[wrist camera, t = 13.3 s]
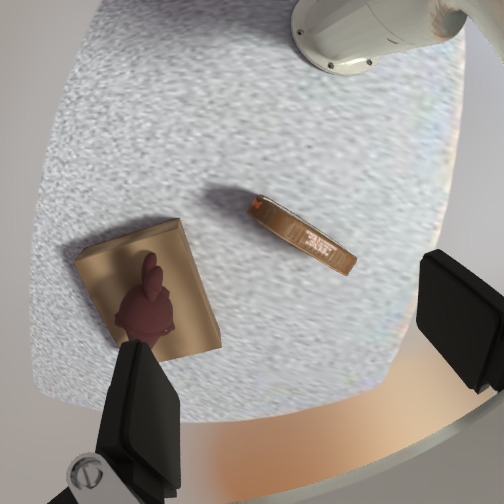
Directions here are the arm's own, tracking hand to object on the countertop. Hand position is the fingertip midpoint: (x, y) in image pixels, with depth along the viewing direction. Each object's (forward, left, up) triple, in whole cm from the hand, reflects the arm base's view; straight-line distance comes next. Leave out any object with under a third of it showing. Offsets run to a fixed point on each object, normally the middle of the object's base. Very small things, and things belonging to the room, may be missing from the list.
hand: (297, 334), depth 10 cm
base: (+14, +13, -30) cm, 36 cm away
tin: (-7, +9, -31) cm, 33 cm away
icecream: (+14, +12, -26) cm, 32 cm away
